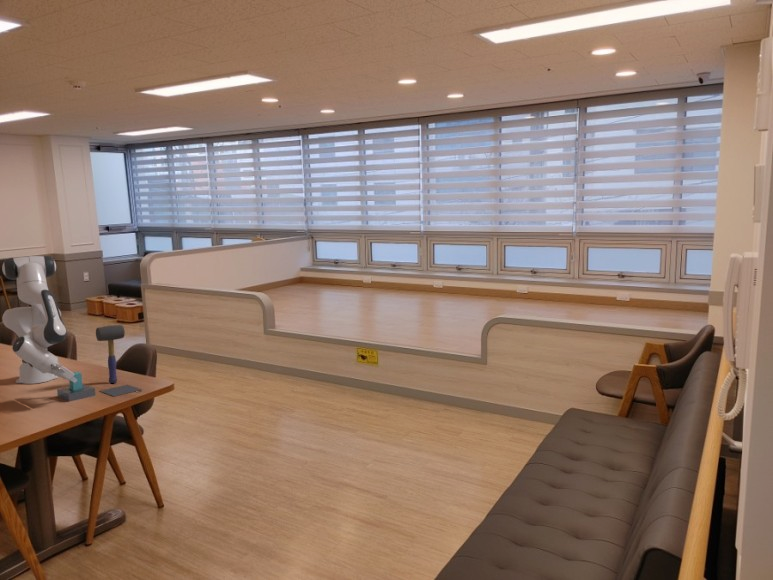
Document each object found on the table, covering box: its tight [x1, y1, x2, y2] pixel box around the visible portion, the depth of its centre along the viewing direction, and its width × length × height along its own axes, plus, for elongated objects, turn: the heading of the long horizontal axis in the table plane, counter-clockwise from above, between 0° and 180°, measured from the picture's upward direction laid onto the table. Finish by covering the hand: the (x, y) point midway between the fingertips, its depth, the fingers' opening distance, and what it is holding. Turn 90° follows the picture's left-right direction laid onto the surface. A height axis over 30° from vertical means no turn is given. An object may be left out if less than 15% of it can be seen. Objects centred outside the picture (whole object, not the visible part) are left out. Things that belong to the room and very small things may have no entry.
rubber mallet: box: [95, 324, 125, 384], centre depth 293 cm, size 12×8×30 cm, turn 131°
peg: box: [68, 371, 83, 391], centre depth 271 cm, size 4×4×11 cm
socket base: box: [56, 383, 96, 402], centre depth 271 cm, size 12×12×4 cm
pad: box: [99, 384, 143, 398], centre depth 280 cm, size 14×14×1 cm
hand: (71, 379), depth 269 cm, fingers open, 8 cm apart
